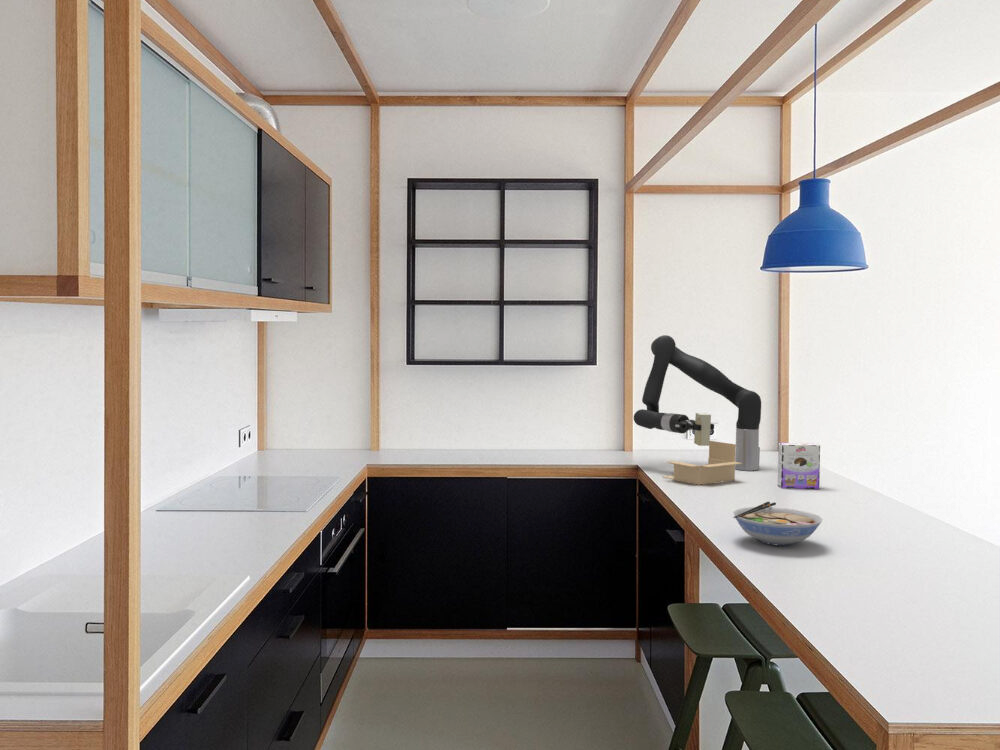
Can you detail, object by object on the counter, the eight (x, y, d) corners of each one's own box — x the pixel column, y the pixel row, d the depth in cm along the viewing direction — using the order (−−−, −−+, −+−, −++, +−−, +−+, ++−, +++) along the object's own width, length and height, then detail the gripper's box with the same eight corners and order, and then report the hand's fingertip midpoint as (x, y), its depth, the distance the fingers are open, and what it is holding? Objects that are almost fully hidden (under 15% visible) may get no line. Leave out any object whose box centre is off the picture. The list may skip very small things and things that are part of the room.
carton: (696, 473, 332) (697, 438, 332) (742, 481, 313) (743, 445, 312) (654, 478, 319) (654, 442, 318) (699, 487, 299) (700, 449, 299)
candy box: (815, 486, 305) (816, 442, 304) (819, 489, 299) (821, 445, 298) (777, 485, 306) (778, 441, 306) (780, 488, 300) (782, 444, 300)
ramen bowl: (800, 559, 202) (801, 526, 202) (715, 543, 218) (715, 512, 217) (836, 541, 221) (837, 511, 221) (755, 527, 236) (756, 499, 236)
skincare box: (693, 443, 320) (694, 412, 319) (705, 443, 320) (705, 412, 319) (699, 445, 313) (700, 414, 313) (710, 445, 314) (711, 414, 313)
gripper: (662, 414, 324) (694, 418, 310) (687, 412, 332) (720, 416, 318) (662, 433, 324) (694, 438, 310) (687, 431, 332) (719, 435, 319)
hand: (707, 427), depth 314 cm, fingers closed on skincare box, 6 cm apart
